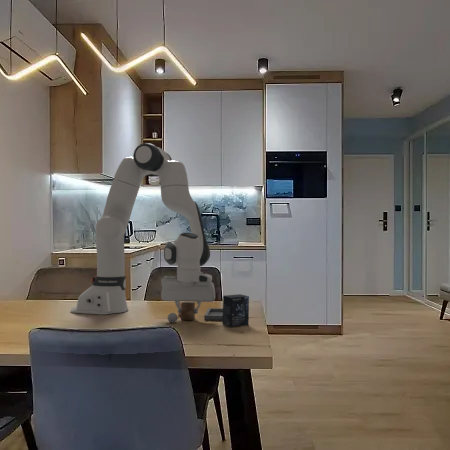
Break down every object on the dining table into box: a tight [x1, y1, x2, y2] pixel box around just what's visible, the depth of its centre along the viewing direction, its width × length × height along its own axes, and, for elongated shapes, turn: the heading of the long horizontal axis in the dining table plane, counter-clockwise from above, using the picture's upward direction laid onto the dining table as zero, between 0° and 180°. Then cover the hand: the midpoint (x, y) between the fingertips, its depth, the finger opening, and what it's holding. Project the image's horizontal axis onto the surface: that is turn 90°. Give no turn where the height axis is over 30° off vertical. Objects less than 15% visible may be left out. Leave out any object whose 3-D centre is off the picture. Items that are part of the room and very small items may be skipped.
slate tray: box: [203, 307, 223, 322], centre depth 201 cm, size 14×16×2 cm
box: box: [222, 293, 250, 328], centre depth 186 cm, size 8×6×11 cm
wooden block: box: [177, 301, 183, 317], centre depth 203 cm, size 4×4×5 cm
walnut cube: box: [180, 301, 196, 321], centre depth 195 cm, size 4×4×6 cm
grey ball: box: [167, 312, 179, 324], centre depth 188 cm, size 4×4×4 cm
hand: (188, 313), depth 195 cm, fingers closed on walnut cube, 4 cm apart
